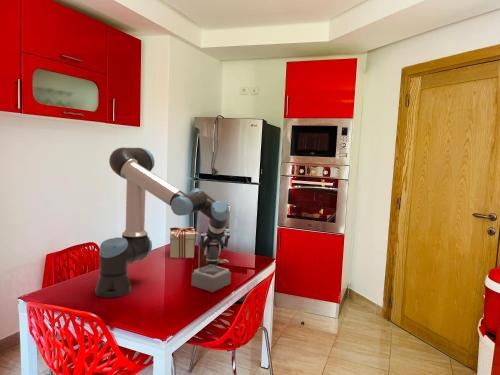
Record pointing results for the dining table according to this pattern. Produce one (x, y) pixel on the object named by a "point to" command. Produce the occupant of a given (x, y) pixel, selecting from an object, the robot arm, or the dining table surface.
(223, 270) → the square picture frame
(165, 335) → the dining table surface
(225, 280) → the square shallow tray
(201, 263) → the cine camera
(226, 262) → the pastry
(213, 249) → the lens
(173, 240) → the gift box
